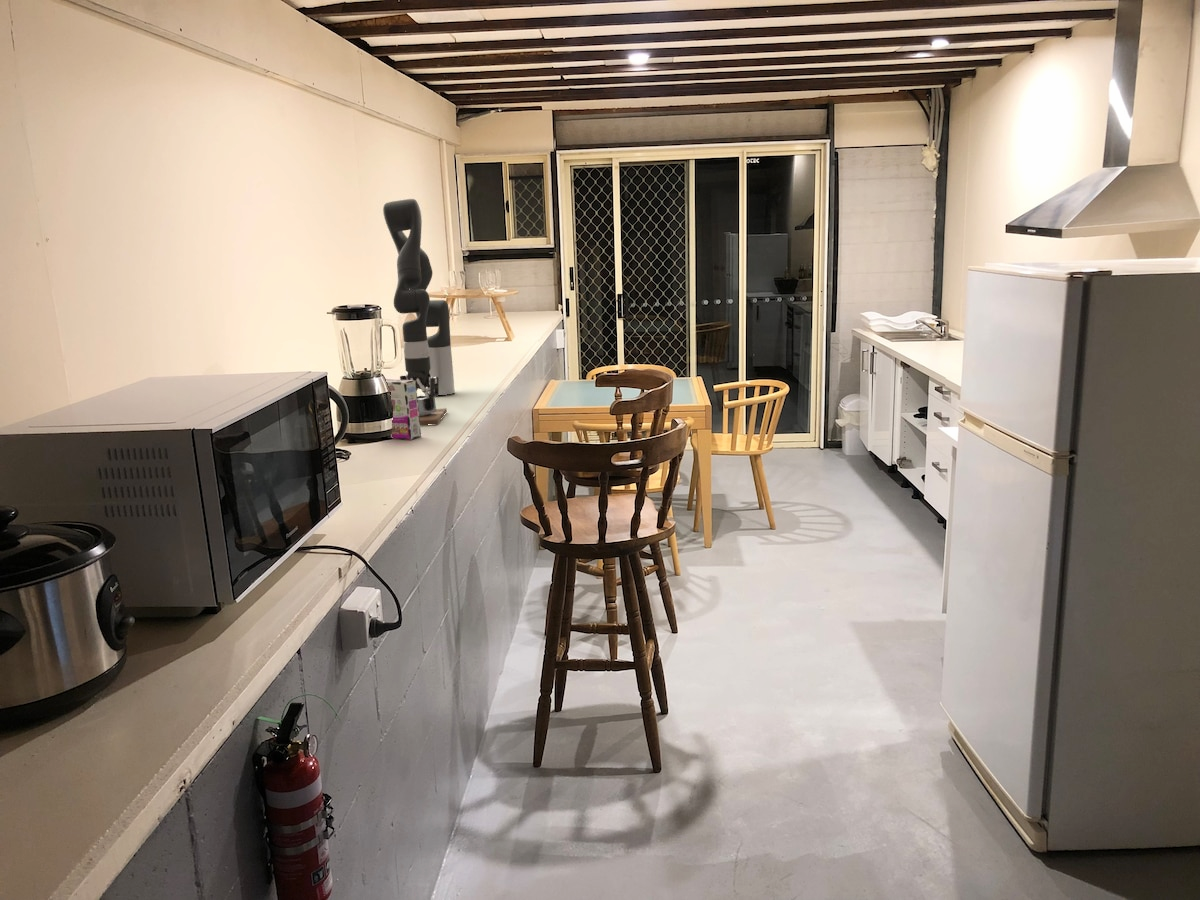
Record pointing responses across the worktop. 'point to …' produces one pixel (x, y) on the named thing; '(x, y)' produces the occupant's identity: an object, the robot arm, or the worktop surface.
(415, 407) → the candy bar box
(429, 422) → the walnut base
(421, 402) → the hollow metal block
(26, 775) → the worktop surface
